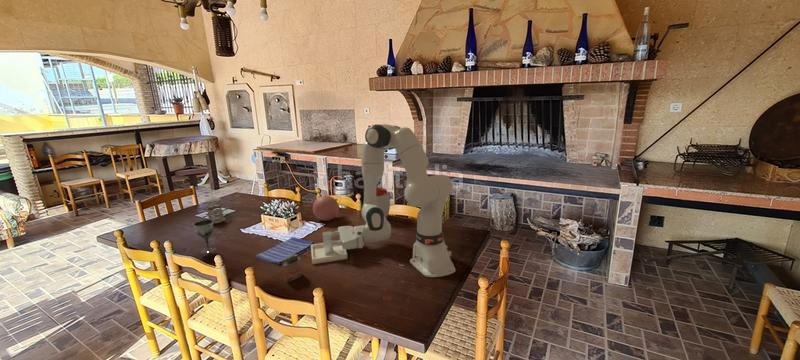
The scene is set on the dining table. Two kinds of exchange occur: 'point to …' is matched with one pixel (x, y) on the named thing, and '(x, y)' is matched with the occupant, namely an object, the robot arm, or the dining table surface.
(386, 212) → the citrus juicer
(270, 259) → the dish towel
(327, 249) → the block
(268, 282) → the dining table surface
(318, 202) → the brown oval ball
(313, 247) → the tray
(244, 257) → the dining table surface
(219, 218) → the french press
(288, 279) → the lighter
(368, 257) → the dining table surface
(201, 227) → the wine glass
